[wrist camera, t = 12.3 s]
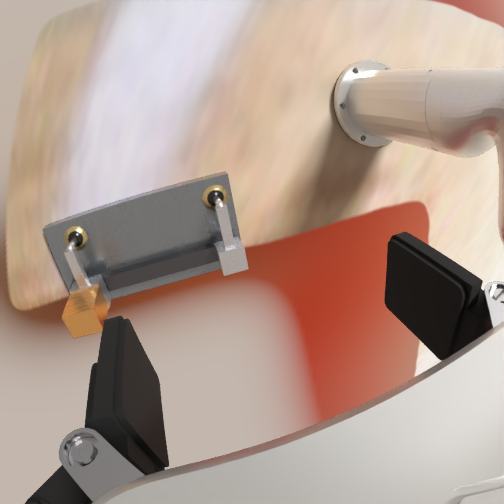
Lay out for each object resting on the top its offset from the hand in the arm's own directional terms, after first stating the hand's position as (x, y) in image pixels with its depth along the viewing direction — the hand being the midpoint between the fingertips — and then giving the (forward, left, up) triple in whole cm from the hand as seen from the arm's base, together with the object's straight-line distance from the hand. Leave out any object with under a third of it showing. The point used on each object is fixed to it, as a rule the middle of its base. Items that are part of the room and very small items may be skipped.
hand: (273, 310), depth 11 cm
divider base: (+8, +8, -30) cm, 32 cm away
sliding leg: (+16, +8, -28) cm, 33 cm away
